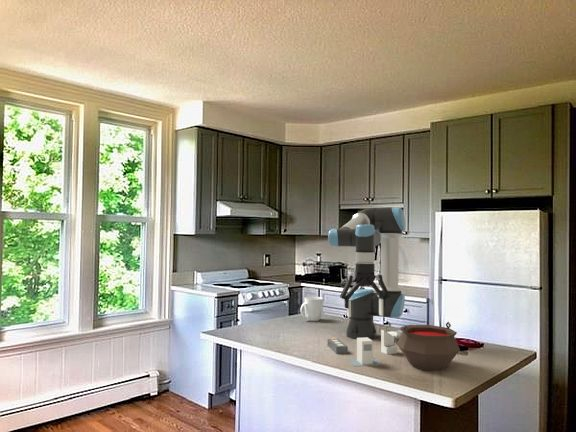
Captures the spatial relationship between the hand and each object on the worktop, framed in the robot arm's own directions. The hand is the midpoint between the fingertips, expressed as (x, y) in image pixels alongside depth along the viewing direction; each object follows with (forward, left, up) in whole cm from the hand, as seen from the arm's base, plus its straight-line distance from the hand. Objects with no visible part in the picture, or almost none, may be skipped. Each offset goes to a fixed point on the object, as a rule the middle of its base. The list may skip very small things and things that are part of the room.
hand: (365, 316), depth 181 cm
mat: (0, 0, -19) cm, 19 cm away
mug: (0, -88, -19) cm, 90 cm away
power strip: (+5, -24, -19) cm, 31 cm away
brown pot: (-24, +6, -19) cm, 31 cm away
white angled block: (-16, -13, -19) cm, 28 cm away
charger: (0, 0, -18) cm, 18 cm away
